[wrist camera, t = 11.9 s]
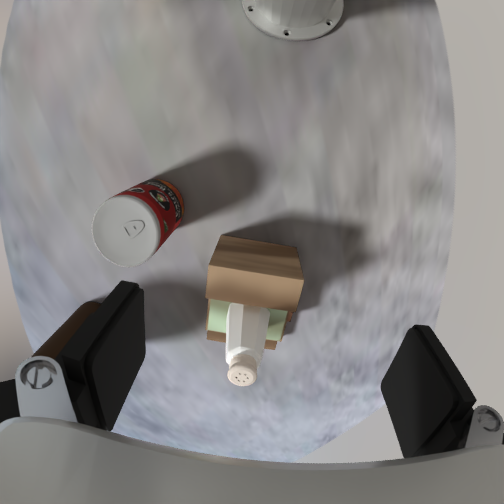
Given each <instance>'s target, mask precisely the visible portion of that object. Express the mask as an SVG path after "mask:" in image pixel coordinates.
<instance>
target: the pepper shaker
mask: <svg viewBox="0 0 504 504" xmlns="http://www.w3.org/2000/svg"><path fill="white" fill-rule="evenodd" d="M269 317H270V312H269V310H268V309H267V308H263V307H257V306H250V305H244V304H238V303H231V304H230V305H229V309H228V314H227V318H226V362H227V363H228V364H229V365H230V366H229V370H228V374H227V375H228V378H229V380H230V381H231V382H232V383H234V384H235V385H238V386H248V385H251V384H252V383H254V382H255V381H256V379H257V368H259V366H260V363H261V360H262V356H263V352H264V346H265V340H266V335H267V329H268V323H269Z"/></svg>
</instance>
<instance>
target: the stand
mask: <svg viewBox="0 0 504 504" xmlns="http://www.w3.org/2000/svg"><path fill="white" fill-rule="evenodd" d="M303 283H304V277H303V273H302V269H301V265H300V260H299V256H298V252H297V248H296V247H291V246H285V245H279V244H273V243H267V242H261V241H255V240H249V239H243V238H237V237H231V236H224V235H221V236H220V239H219V241H218V244H217V246H216V248H215V251H214V253H213V256H212V258H211V261H210V263H209V267H208V276H207V286H206V295H205V298H208V299H209V300H208V309H207V319H206V329H205V330H208V331H207V339H208V340H214V341H219V342H225V343H226V318H227V314H228V309H229V305H230V304H231V303H238V304H244V305H250V306H257V307H263V308H267V309H268V310H269V312H270V317H269V323H268V329H267V335H266V340H265V346H264V349H272V350H275V348H276V344H277V341H280V342H281V341H282V338H283V334H284V330H285V327H286V323H287V321H289V322H290V321H291V317H292V314H293V312H296V309H297V306H298V302H299V298H300V295H301V291H302V287H303Z"/></svg>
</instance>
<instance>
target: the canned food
mask: <svg viewBox="0 0 504 504" xmlns="http://www.w3.org/2000/svg"><path fill="white" fill-rule="evenodd" d="M183 213H184V205H183V199H182V197H181V194H180V193H179V191H178V190H177V189H176V188H175V187H174V186H173V185H171V184H170V183H168V182H166V181H163V180H158V179H152V180H147V181H145V182H142V183H140V184H138V185H136V186H134V187H132V188H130V189H127V190H125V191H123V192H121V193H119V194H117V195H115V196H113V197H111V198H109V199H108V200H106V201H105V202H104V203H103V204H102V205H101V206H100V207H99V208H98V209H97V211H96V213H95V215H94V217H93V221H92V236H93V240H94V243H95V245H96V247H97V249H98V250H99V252H100V253H101V254H102V255H103V256H104V257H105V258H106V259H107V260H108V261H110V262H111V263H113V264H115V265H118V266H122V267H135V266H138V265H141V264H143V263H144V262H146V261H147V260H149V259H150V258H151V257H152V256H153V255H154V254H155V252H156V251H157V250H158V249H159V248H160V247H161V245H162V244H163V243H164V242H165V241H166V239H167V238H168V237H169V236H170V235H171V234H172V232H173V231H174V230H175V229H176V228H177V226H178V225H179V224H180V222H181V220H182V217H183Z"/></svg>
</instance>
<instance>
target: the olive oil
mask: <svg viewBox="0 0 504 504" xmlns="http://www.w3.org/2000/svg"><path fill="white" fill-rule="evenodd" d="M100 305H101V304H100V303H96V302H87V303H84V304H83V305H81V306H80V307H79V308H78V309H77V310H76V311H75V312H74V313H73V314H72V315H71V316H70V317H69V319H68V320H67V321H66V322H65V323H64V324H63V325H62V326H61V327H60V328H59V329H58V330H57V331H56V332H55V333H54V334H53V335H52V336H51V337H50V338H49V339H48V340H47V341H46V342H45V343H44V344H43V345H42V346H41V347H40V348H39V349H38V350H37V351H36V352H35V353H34V354H33V356H32V357H35V356H45V357H50V358H52V359H55V358H56V356H57V355H58V354H59V352H60V351H61V350H62V349H63V347H64V346H65V345H66V343H67V342H68V341H69V340H70V338H71V337H72V336H73V335H74V333H75V332H76V331H77V330H78V328H79V327H80V326H81V325H82V323H83V322H84V321H85V320H86V318H87V317H88V316H89V315H90V314H91V313H94V312H95V311H96V310H97V309H98V308H99V306H100Z"/></svg>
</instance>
